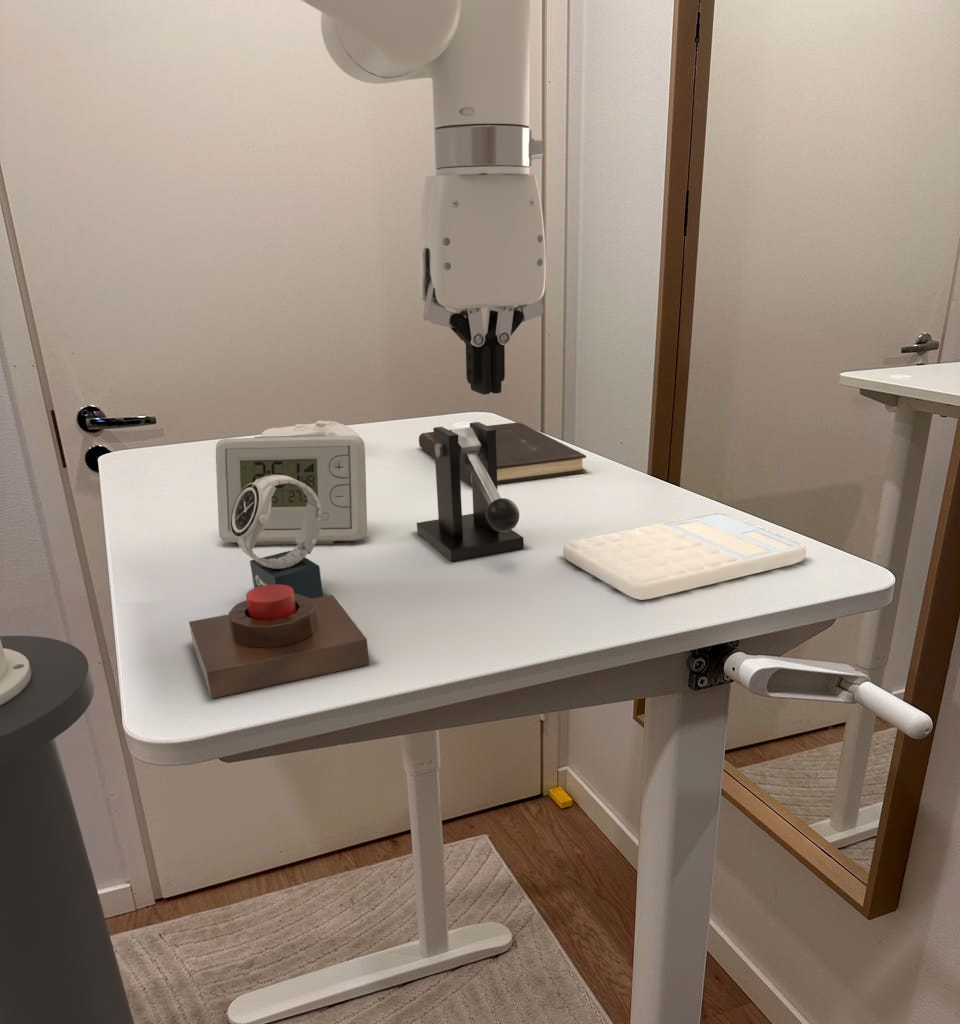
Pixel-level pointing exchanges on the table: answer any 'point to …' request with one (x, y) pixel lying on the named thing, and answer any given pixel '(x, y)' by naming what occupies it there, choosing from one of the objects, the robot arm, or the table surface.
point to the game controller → (312, 430)
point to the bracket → (452, 528)
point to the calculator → (682, 554)
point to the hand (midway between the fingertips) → (485, 391)
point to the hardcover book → (522, 455)
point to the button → (271, 602)
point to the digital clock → (308, 459)
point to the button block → (276, 646)
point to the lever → (486, 483)
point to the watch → (288, 565)
